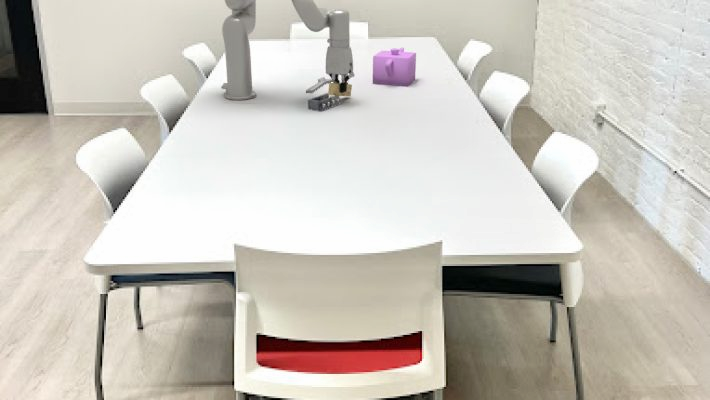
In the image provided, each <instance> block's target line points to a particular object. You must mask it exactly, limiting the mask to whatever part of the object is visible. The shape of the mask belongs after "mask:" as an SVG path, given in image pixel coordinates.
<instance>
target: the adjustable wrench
mask: <svg viewBox="0 0 710 400" xmlns="http://www.w3.org/2000/svg"><path fill="white" fill-rule="evenodd" d="M331 82H333V81H332V78H331V77H330V78H326V77H320V78H318V79H317V83H315V84H314V85H312V86H310V87H309V88H307V89H306V90H305V94H307V93H311V94H313V93H314V91H315V90H316V91H318V90H319V89H320V87H321V86H322V87H324V86H325V85H327V84H326V83H328V84H329V83H331ZM324 84H325V85H324ZM323 85H324V86H323ZM322 87H321V88H322ZM318 88H319V89H318ZM317 89H318V90H317ZM316 91H315V92H316Z"/></svg>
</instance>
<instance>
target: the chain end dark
mask: <svg viewBox="0 0 710 400" xmlns="http://www.w3.org/2000/svg"><path fill="white" fill-rule="evenodd" d="M319 96H320V95H317V96H315V97H312V98H309V99H307V109H308V110H311V109H312V111H316V110H318V111H317V112H322V110H323V111H325V109H326V110H328V109H330V108H331V107H330V104H331V103H330V97H329V98H327V99H324V100H322V101H320V97H319ZM329 107H330V108H329ZM327 108H328V109H327Z"/></svg>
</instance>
